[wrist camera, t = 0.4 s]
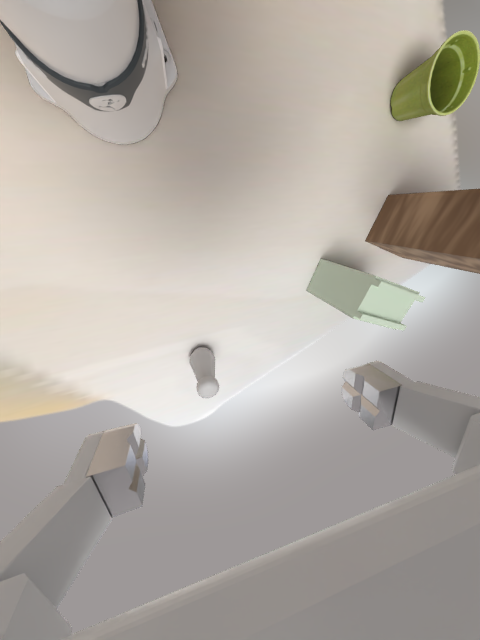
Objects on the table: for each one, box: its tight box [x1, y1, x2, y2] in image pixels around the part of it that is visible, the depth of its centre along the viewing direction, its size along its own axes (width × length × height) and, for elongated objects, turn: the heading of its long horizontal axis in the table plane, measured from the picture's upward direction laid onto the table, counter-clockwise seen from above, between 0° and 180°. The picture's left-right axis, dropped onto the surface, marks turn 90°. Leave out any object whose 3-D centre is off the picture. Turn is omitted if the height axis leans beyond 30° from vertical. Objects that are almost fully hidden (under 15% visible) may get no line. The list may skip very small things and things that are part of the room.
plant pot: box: [390, 30, 480, 121], centre depth 38 cm, size 9×9×9 cm
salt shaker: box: [190, 347, 219, 398], centre depth 48 cm, size 6×6×13 cm
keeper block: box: [306, 259, 425, 330], centre depth 47 cm, size 12×8×17 cm, turn 70°
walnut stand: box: [365, 189, 480, 274], centre depth 41 cm, size 14×10×27 cm
